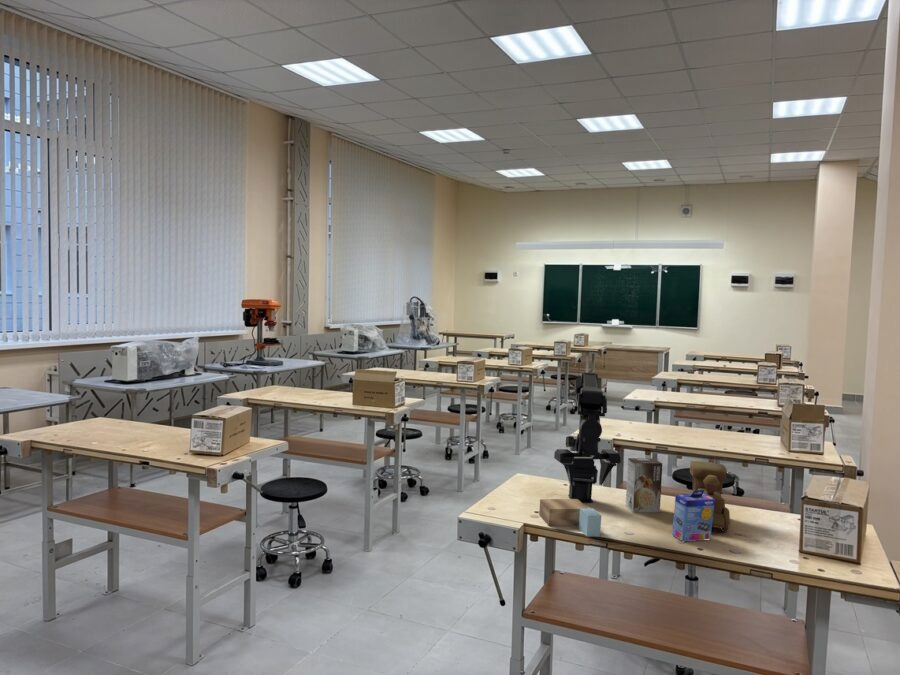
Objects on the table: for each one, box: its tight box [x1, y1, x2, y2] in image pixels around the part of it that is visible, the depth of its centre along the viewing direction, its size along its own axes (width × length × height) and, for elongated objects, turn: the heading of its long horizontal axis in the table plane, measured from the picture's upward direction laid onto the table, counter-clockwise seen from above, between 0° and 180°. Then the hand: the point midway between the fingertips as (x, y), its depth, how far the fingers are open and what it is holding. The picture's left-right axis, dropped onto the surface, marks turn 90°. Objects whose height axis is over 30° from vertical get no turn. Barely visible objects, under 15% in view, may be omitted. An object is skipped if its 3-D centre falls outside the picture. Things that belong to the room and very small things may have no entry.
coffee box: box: [625, 457, 664, 513], centre depth 200 cm, size 9×6×16 cm
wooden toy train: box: [689, 460, 731, 532], centre depth 190 cm, size 20×11×17 cm, turn 163°
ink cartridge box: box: [671, 490, 715, 542], centre depth 177 cm, size 10×6×14 cm, turn 108°
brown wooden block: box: [538, 498, 588, 527], centre depth 186 cm, size 12×9×5 cm
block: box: [578, 507, 602, 537], centre depth 177 cm, size 4×6×6 cm
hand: (585, 484), depth 183 cm, fingers open, 9 cm apart
